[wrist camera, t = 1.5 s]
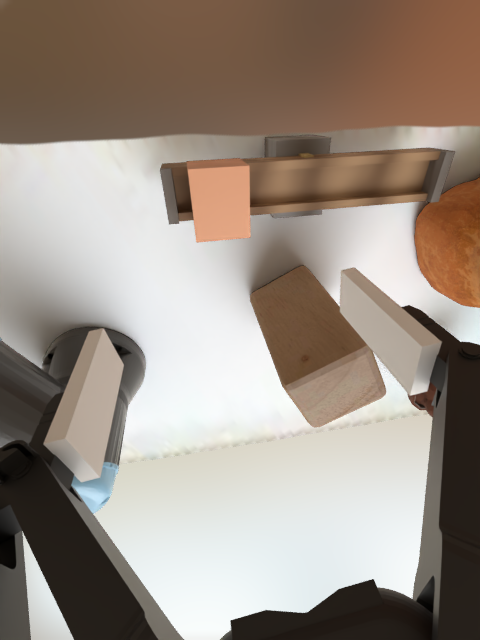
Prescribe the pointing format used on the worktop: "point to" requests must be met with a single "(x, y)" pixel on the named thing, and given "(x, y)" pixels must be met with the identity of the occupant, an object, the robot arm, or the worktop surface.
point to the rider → (220, 198)
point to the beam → (322, 178)
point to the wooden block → (315, 348)
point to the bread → (452, 243)
